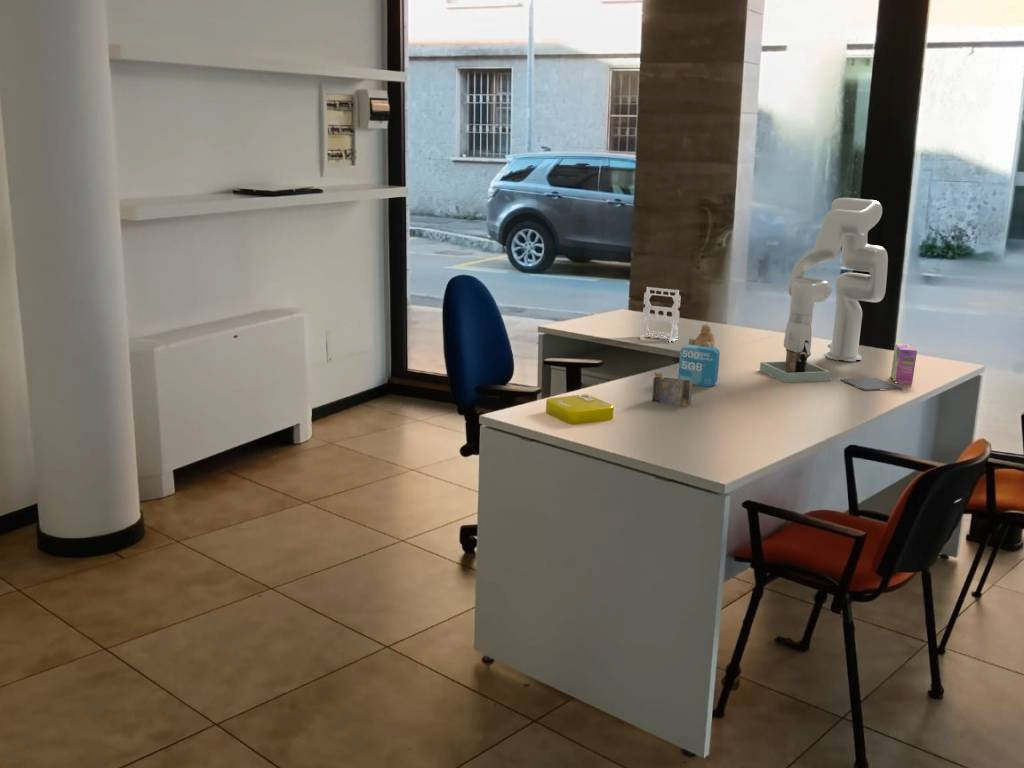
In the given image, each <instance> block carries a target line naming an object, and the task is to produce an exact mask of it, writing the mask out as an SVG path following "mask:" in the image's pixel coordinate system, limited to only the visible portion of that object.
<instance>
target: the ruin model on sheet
mask: <svg viewBox="0 0 1024 768" xmlns="http://www.w3.org/2000/svg"><path fill="white" fill-rule="evenodd" d="M652 381H653V382H652V394H651V395H652V396H651V402H654V401H659V403H662V404H671V405H679V406H686V407H689V406H690V405H692V395H693V393H692V391H693V384H692V382H693V381H691V380H682V379H678V378H673V377H664V376H663V373H662V372H654V377H653V380H652Z"/></svg>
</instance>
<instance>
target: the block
mask: <svg viewBox="0 0 1024 768" xmlns="http://www.w3.org/2000/svg"><path fill="white" fill-rule="evenodd" d="M802 352H803V351H802ZM802 355H803V354H801V356H802ZM785 361H786V364H785V370H784V371H785V372H787V373H796V361H798V353H795V352H792V351H790V350H787V351H786V356H785ZM807 362H808V360H807V361H806V363H805V372H806V365H807Z"/></svg>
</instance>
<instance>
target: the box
mask: <svg viewBox="0 0 1024 768" xmlns="http://www.w3.org/2000/svg"><path fill="white" fill-rule="evenodd" d="M917 354H918V351H917V349H916V347H915V346H914V345H913V344H911V343H910V344H909V343H898V342H895V343H894V349H893V358H892V364H891V371H890V377H891V376H892V377H891V378H893V379H892V380H893V382H894V381H895V382H897V383H896V384H899V383H903V384H902V385H911V384H912V385H913V382H914V381H913V380H914V374H915V369H916V368H915V366H916V361H917ZM895 382H894V383H895Z"/></svg>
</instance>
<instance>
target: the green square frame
mask: <svg viewBox="0 0 1024 768" xmlns="http://www.w3.org/2000/svg"><path fill="white" fill-rule="evenodd" d="M785 364H786V360H785V361H783V360H781V361H760V364H759V371H761V372H763V373H764V374H767V375H769V376H771V377H773V378H775V379H778V380H780V381H782V382H784V383H802V382H808V383H809V382H827V381H828V382H829V381H830V382H831V378H832V371H830V370H828V369H825V368H823V367H821V366H817V365H815V364H814V363H811V362H808V361H807V365H806V372H796V373H787V372H785Z"/></svg>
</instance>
